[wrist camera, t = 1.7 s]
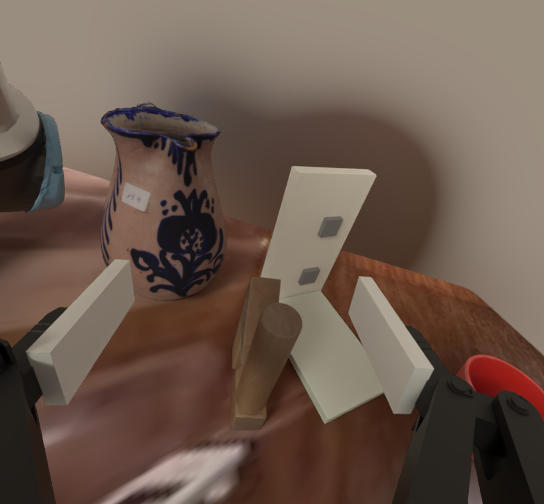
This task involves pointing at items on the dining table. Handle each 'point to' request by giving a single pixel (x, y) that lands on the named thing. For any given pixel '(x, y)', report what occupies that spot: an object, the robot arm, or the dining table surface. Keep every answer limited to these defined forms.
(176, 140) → the ceramic pitcher
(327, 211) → the white l-shaped bracket
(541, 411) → the flower pot
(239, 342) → the wooden block
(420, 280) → the dining table surface
